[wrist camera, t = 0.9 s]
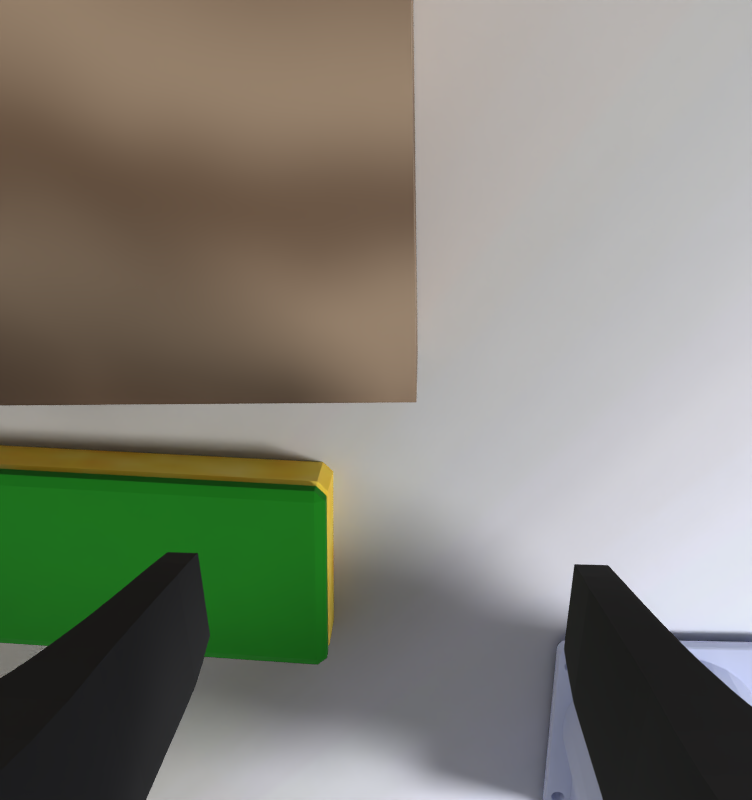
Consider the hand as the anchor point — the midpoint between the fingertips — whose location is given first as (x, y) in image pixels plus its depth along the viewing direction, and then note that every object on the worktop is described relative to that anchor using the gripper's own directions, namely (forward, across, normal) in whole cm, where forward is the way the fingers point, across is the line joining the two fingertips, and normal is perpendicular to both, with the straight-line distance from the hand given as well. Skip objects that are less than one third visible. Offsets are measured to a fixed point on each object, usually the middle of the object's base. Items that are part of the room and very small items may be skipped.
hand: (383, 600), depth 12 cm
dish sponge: (+10, +9, +5) cm, 15 cm away
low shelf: (+9, +10, -8) cm, 15 cm away
